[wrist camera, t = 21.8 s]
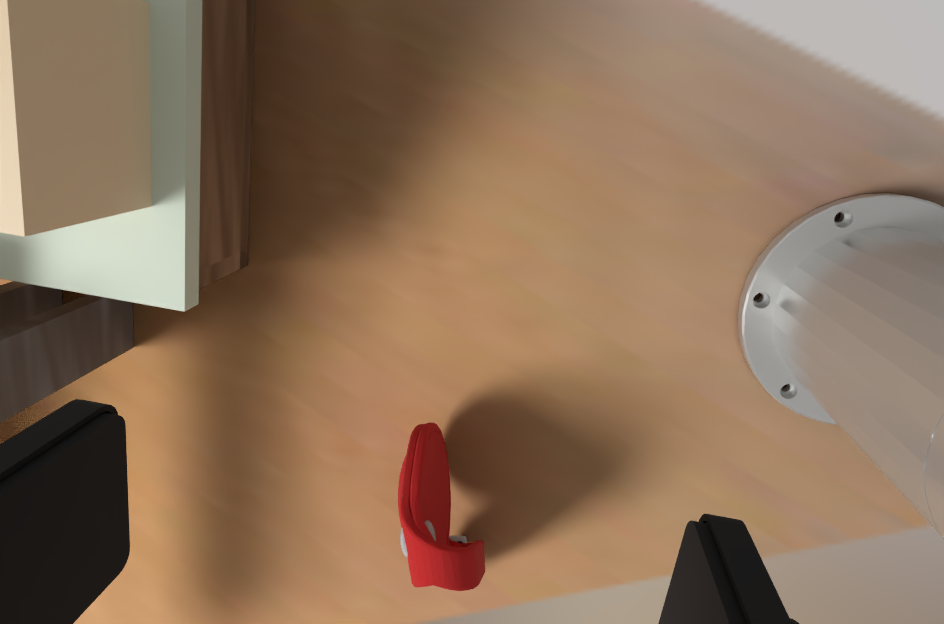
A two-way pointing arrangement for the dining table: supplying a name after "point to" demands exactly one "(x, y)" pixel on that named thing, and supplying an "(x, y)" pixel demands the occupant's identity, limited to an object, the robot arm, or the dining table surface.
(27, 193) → the lid
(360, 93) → the dining table surface
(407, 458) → the tracker holder
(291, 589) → the dining table surface
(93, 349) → the toolbox
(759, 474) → the dining table surface
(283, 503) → the dining table surface
